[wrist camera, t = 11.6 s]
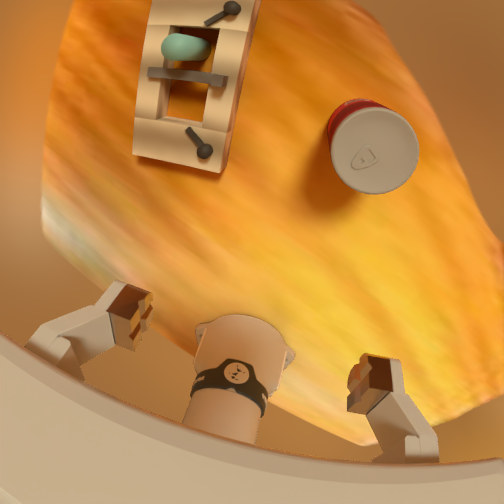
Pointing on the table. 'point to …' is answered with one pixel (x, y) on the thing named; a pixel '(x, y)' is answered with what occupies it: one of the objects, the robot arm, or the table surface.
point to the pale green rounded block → (185, 48)
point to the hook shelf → (220, 81)
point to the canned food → (371, 146)
